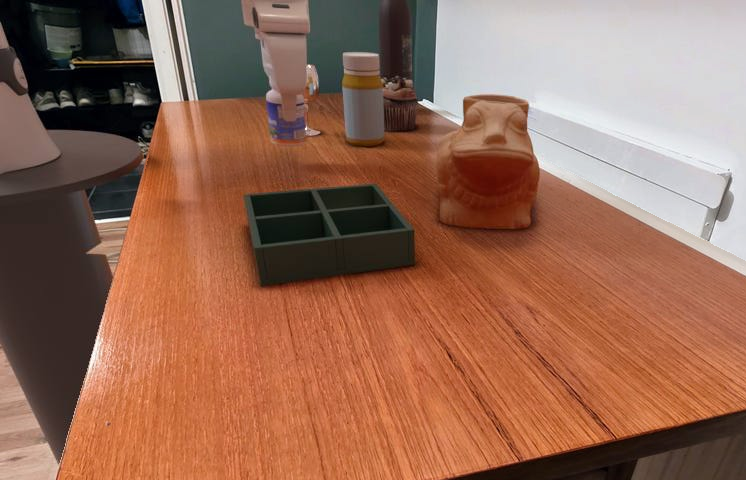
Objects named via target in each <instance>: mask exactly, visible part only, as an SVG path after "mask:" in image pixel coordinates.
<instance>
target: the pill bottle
mask: <svg viewBox="0 0 746 480" xmlns="http://www.w3.org/2000/svg"><path fill="white" fill-rule="evenodd" d="M268 80H269V82H268V83H269V87H270V88H271V89H270V90H268V91H267V92H266V94H265V100H266V101H265V102H266V110H267V119H268V129H269V136H270V142H271V143H272V144H273V145H275V146H279V147H284V148H285V147H287V148H292V147H293V148H294V147H302V146H304V145H306V143H307V136H306V117H305V111H304V97H303V95H296V96H297V100H296V120H295V121H285V120H284V118H283V115H282V103H281V96H280V93H279V92H278V91H277V89H276V88H275V86H274V85H273V83H272V81H271V78H270V76H269V77H268Z"/></svg>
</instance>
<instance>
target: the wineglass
mask: <svg viewBox="0 0 746 480" xmlns="http://www.w3.org/2000/svg"><path fill="white" fill-rule="evenodd" d="M319 79H320V78H319V76H318V72H317V69H316V67H315V65H314V64H308V63H307V84H306V91H305V93H304V94H302V95H303V97H304V111H305V126H306V137H313V136H318V135H320V134H321V131H319V130H317V129H314V128H311V126H310V122H309V110H310V109H309V105H308V103H310V102H314V100H316V99H317V98H318V97H319V95H320V89H321V88H320V80H319Z"/></svg>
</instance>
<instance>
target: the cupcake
mask: <svg viewBox="0 0 746 480" xmlns="http://www.w3.org/2000/svg"><path fill="white" fill-rule="evenodd" d="M380 78H381V81H382V86H383V108H384V131H389V132H407V131H411V130H414V129H415V128H416V123H417V122H416V120H417V117H418V110H419V100H418V97H417V96H418V95H417V92H416V90H415V89H414V82H413V79H412V80H409V79H408V78H399V76H398V75H393V76H391V77H389V76H386V75H383V76H381V75H380ZM388 78H392V79H391V80H389V79H388Z"/></svg>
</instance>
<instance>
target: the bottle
mask: <svg viewBox="0 0 746 480" xmlns="http://www.w3.org/2000/svg"><path fill="white" fill-rule="evenodd" d="M342 62H343V63H342V65H343V73H344V74H343V78H342V82H341V84H342V86H341V87H342V88H341V89H342V102H343V115H344V127H345V128H344V129H345V130H344V131H345V139H346V140H347V142H348V143H349V144H350V145H353V146H356V147H374V146H375V147H376V146H380V145H381V144H382V143H383V142H384V141H385V130H384V108H383V86H382V81H381V78H380V77H381V70H380V54H379V53H374V52H367V51H366V52H364V51H347V52H343V53H342Z"/></svg>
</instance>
